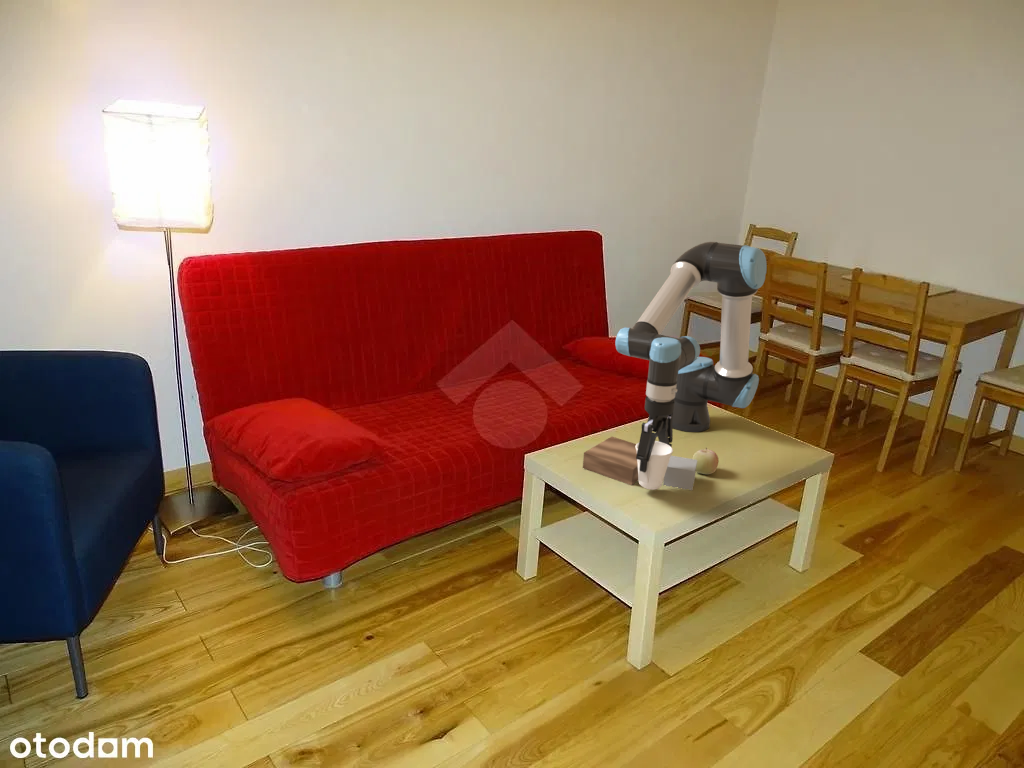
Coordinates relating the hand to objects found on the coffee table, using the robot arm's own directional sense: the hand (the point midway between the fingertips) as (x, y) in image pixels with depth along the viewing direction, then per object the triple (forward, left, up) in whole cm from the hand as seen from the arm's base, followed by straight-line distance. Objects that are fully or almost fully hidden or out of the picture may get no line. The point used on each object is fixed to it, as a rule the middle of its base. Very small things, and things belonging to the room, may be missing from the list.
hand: (651, 474), depth 193 cm
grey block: (-12, +3, -6) cm, 14 cm away
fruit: (-23, +6, -6) cm, 24 cm away
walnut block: (-9, -14, -6) cm, 17 cm away
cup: (0, 0, -3) cm, 3 cm away
